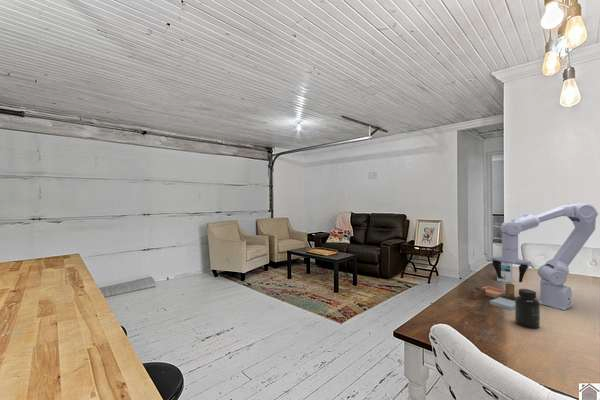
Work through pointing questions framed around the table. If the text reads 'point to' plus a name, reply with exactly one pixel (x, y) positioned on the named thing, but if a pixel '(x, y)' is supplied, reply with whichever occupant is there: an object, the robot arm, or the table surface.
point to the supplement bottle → (527, 309)
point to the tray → (493, 292)
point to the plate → (503, 303)
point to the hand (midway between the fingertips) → (509, 279)
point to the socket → (505, 298)
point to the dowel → (509, 291)
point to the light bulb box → (506, 273)
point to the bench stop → (477, 293)
